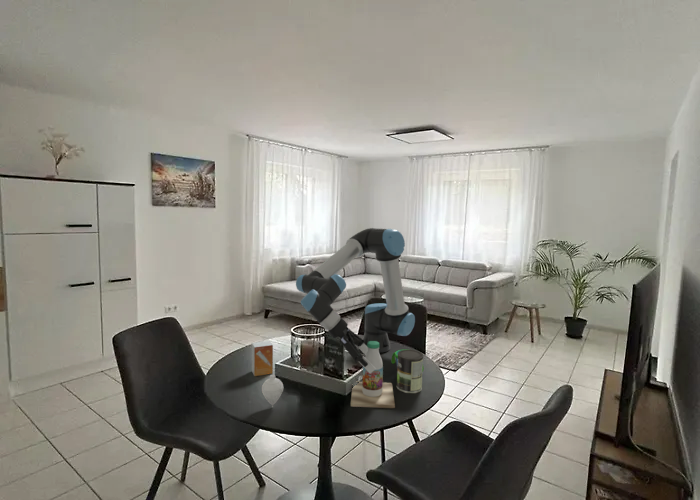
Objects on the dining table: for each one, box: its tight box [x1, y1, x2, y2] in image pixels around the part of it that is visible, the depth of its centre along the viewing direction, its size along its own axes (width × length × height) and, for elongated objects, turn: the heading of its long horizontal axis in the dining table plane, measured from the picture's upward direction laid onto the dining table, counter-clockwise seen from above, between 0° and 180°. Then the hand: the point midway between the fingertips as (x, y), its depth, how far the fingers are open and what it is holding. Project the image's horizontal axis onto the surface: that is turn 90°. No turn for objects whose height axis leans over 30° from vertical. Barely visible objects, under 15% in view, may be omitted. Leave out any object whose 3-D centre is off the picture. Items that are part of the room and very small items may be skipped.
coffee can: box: [396, 349, 424, 394], centre depth 155 cm, size 10×10×14 cm
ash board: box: [350, 381, 396, 409], centre depth 148 cm, size 18×16×1 cm
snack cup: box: [390, 348, 425, 373], centre depth 166 cm, size 16×10×10 cm
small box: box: [251, 340, 274, 377], centre depth 167 cm, size 8×6×13 cm
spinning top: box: [261, 374, 284, 408], centre depth 138 cm, size 8×8×12 cm
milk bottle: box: [362, 341, 384, 397], centre depth 147 cm, size 8×8×20 cm
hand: (372, 363), depth 147 cm, fingers open, 13 cm apart
